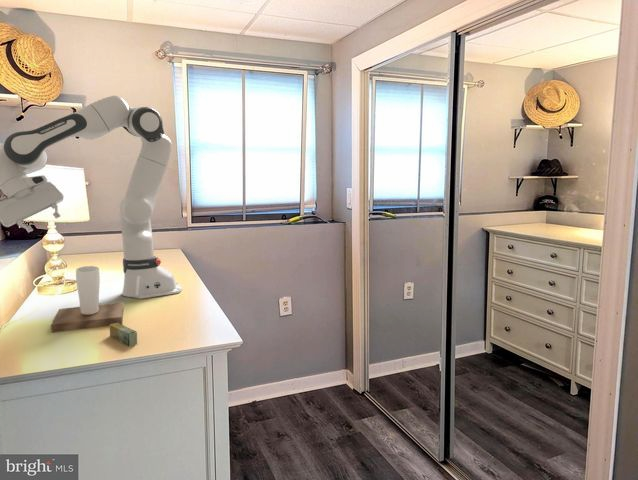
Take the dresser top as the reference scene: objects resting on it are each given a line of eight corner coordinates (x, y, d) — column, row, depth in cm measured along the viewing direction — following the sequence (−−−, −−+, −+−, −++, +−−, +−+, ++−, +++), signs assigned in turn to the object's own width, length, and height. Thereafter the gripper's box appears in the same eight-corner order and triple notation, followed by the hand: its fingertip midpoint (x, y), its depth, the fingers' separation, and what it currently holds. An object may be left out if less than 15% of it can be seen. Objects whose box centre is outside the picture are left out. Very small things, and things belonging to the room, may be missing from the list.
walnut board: (123, 309, 165) (123, 302, 164) (122, 324, 150) (121, 316, 150) (59, 315, 158) (59, 308, 157) (51, 332, 143) (50, 324, 143)
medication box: (138, 344, 135) (137, 331, 134) (129, 347, 133) (128, 333, 132) (118, 334, 142) (117, 321, 142) (109, 336, 140) (108, 324, 140)
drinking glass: (95, 307, 158) (92, 264, 154) (105, 312, 154) (103, 269, 150) (74, 312, 153) (71, 268, 149) (84, 318, 149) (81, 273, 145)
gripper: (-15, 201, 146) (13, 237, 148) (49, 173, 158) (74, 207, 160) (-14, 206, 151) (13, 242, 153) (48, 179, 163) (72, 212, 165)
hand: (44, 224), depth 157 cm, fingers open, 8 cm apart
